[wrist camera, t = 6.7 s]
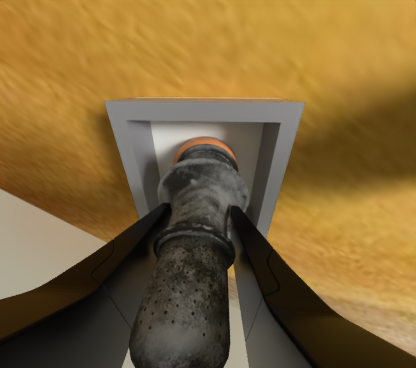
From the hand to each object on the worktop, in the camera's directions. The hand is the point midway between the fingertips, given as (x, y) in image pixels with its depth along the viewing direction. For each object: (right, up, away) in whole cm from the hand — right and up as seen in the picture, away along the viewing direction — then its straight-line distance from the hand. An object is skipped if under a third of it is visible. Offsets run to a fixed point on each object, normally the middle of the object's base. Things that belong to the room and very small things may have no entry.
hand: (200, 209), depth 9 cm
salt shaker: (0, +2, +4) cm, 5 cm away
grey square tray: (0, +4, +6) cm, 7 cm away
